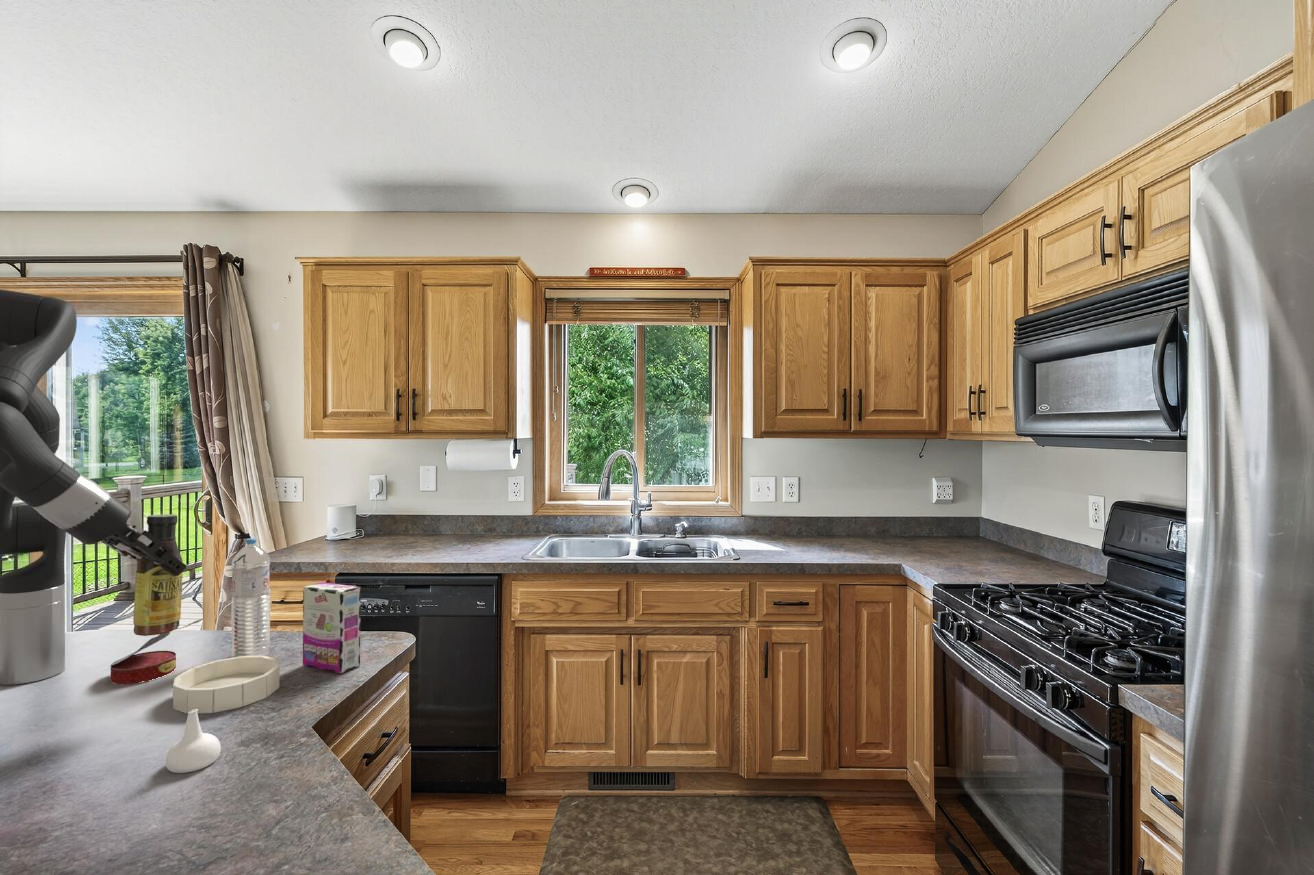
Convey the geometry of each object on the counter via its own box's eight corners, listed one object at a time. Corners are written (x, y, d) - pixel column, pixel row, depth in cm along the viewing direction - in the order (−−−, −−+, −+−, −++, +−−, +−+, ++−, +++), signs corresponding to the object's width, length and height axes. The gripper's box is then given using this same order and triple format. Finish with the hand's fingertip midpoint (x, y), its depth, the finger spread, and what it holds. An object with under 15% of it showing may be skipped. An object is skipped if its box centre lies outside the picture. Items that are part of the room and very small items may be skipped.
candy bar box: (362, 666, 124) (362, 586, 124) (341, 675, 119) (341, 592, 119) (322, 657, 128) (323, 580, 128) (301, 666, 124) (301, 586, 123)
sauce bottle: (152, 639, 99) (154, 518, 99) (123, 635, 101) (124, 517, 101) (191, 627, 106) (193, 513, 106) (162, 623, 107) (164, 512, 107)
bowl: (154, 702, 107) (154, 679, 107) (246, 670, 121) (246, 650, 121) (206, 720, 100) (206, 696, 100) (297, 685, 114) (297, 664, 114)
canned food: (134, 709, 114) (104, 671, 110) (115, 690, 120) (86, 654, 115) (198, 665, 122) (172, 628, 118) (177, 649, 128) (152, 614, 123)
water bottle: (255, 662, 125) (256, 542, 125) (223, 662, 125) (223, 541, 125) (277, 650, 132) (277, 536, 132) (246, 650, 132) (246, 536, 132)
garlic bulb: (206, 751, 92) (203, 698, 92) (230, 758, 89) (227, 703, 89) (157, 772, 86) (154, 716, 86) (181, 780, 83) (178, 721, 84)
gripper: (127, 492, 93) (211, 555, 104) (82, 487, 100) (166, 547, 110) (83, 531, 89) (175, 593, 99) (38, 523, 95) (130, 582, 106)
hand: (170, 569), depth 105 cm, fingers closed on sauce bottle, 6 cm apart
